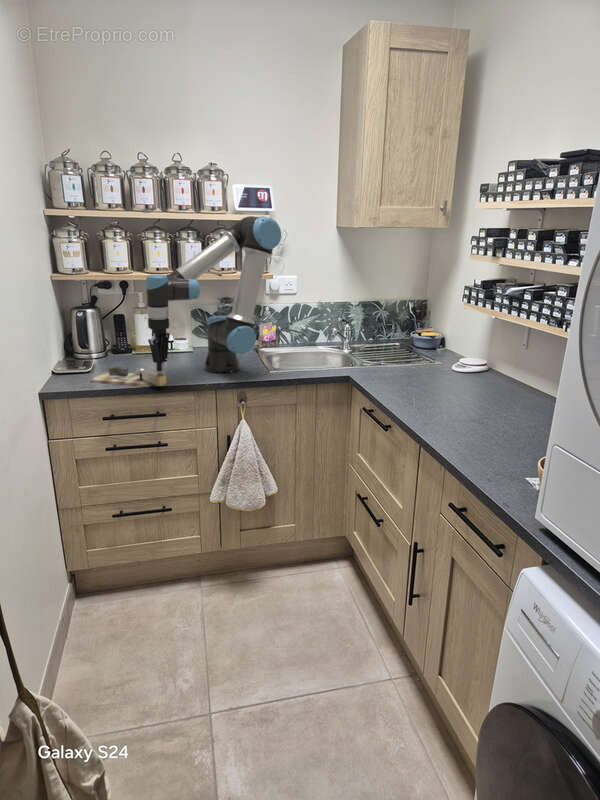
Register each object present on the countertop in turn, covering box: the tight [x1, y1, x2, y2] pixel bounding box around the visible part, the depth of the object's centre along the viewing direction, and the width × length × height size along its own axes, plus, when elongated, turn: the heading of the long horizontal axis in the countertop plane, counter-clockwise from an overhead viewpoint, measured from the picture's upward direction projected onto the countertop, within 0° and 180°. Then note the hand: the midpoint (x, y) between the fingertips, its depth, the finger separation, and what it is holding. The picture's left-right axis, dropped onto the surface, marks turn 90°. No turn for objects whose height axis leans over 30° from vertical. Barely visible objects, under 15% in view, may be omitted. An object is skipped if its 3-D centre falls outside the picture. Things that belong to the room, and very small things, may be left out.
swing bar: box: [135, 366, 167, 387], centre depth 208 cm, size 16×4×4 cm, turn 48°
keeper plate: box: [89, 366, 139, 386], centre depth 214 cm, size 14×12×4 cm
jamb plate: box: [124, 374, 154, 388], centre depth 212 cm, size 10×10×4 cm
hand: (161, 378), depth 208 cm, fingers closed
